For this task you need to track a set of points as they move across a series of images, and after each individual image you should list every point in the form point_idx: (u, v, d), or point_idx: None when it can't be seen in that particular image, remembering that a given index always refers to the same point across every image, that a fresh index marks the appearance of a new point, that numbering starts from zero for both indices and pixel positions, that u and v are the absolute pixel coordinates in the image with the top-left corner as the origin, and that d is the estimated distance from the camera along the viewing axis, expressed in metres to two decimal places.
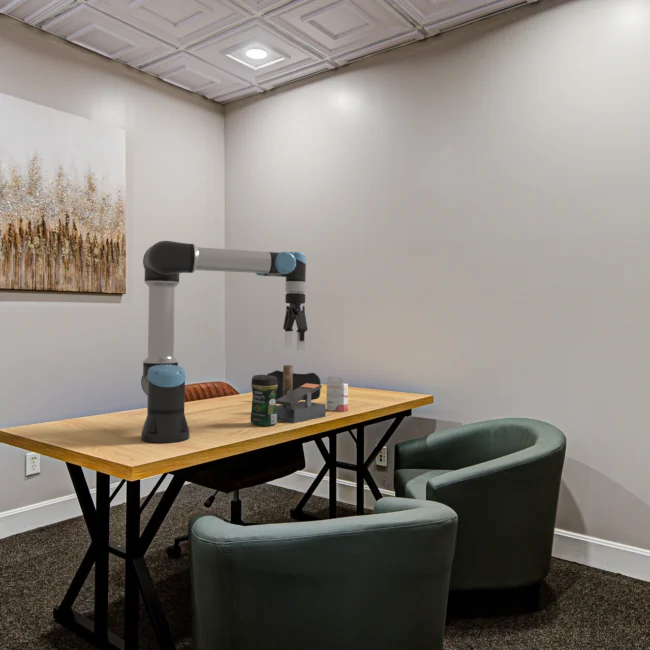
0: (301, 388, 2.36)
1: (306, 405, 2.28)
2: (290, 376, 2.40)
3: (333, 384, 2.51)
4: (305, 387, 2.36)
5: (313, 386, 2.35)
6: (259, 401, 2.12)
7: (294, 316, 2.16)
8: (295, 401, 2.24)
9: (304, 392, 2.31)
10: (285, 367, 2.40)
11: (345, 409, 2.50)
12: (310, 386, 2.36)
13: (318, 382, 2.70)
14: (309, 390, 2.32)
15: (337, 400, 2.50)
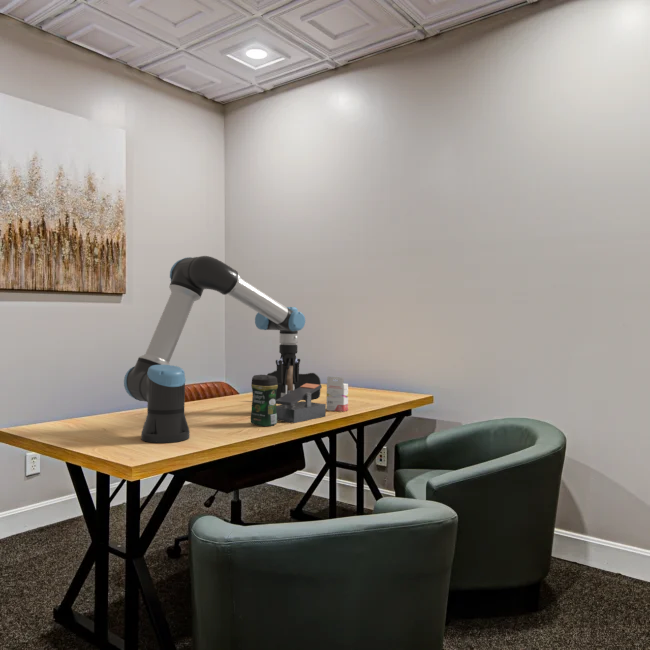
0: (301, 388, 2.36)
1: (306, 405, 2.28)
2: (290, 376, 2.40)
3: (333, 384, 2.51)
4: (305, 387, 2.36)
5: (313, 386, 2.35)
6: (259, 401, 2.12)
7: None
8: (295, 401, 2.24)
9: (304, 392, 2.31)
10: None
11: (345, 409, 2.50)
12: (310, 386, 2.36)
13: (318, 382, 2.70)
14: (309, 390, 2.32)
15: (337, 400, 2.50)
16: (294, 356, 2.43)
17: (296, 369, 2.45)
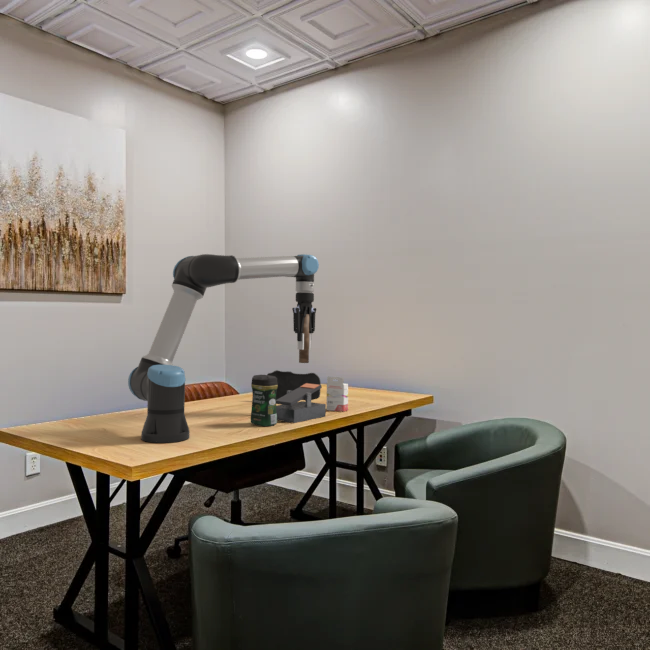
0: (301, 388, 2.36)
1: (306, 405, 2.28)
2: (307, 324, 2.38)
3: (333, 384, 2.51)
4: (305, 387, 2.36)
5: (313, 386, 2.35)
6: (259, 401, 2.12)
7: None
8: (295, 401, 2.24)
9: (304, 392, 2.31)
10: None
11: (345, 409, 2.50)
12: (310, 386, 2.36)
13: (318, 382, 2.70)
14: (309, 390, 2.32)
15: (337, 400, 2.50)
16: (310, 305, 2.41)
17: (312, 318, 2.43)
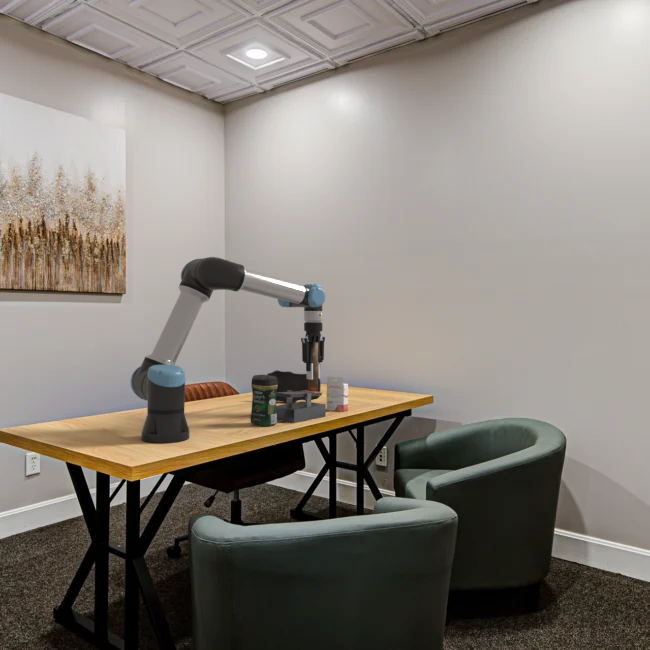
0: (301, 391, 2.36)
1: (306, 405, 2.28)
2: (316, 353, 2.37)
3: (333, 384, 2.51)
4: (306, 391, 2.36)
5: (314, 391, 2.36)
6: (259, 401, 2.12)
7: None
8: (295, 395, 2.23)
9: None
10: (310, 344, 2.37)
11: (345, 409, 2.50)
12: (311, 391, 2.36)
13: (318, 382, 2.70)
14: None
15: (337, 400, 2.50)
16: (319, 334, 2.40)
17: (321, 347, 2.42)
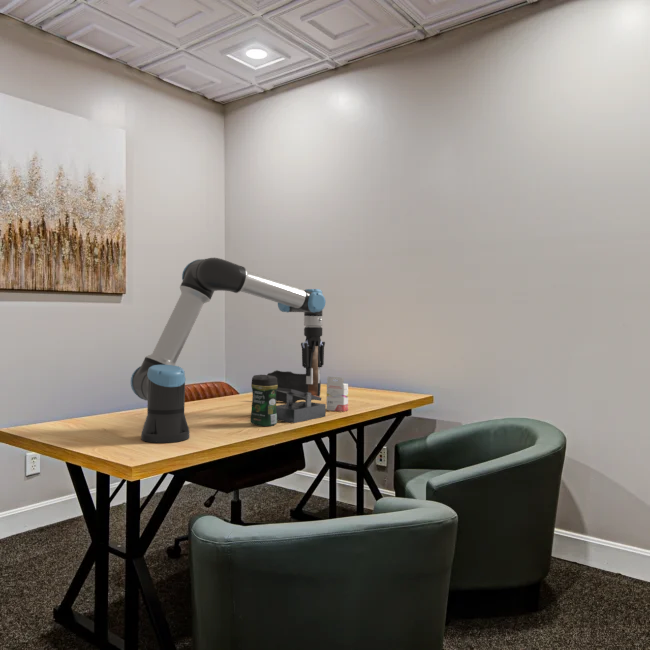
0: None
1: (306, 405, 2.28)
2: (315, 356, 2.37)
3: (333, 384, 2.51)
4: None
5: (314, 395, 2.36)
6: (259, 401, 2.12)
7: None
8: (295, 391, 2.23)
9: None
10: None
11: (345, 409, 2.50)
12: None
13: None
14: None
15: (337, 400, 2.50)
16: (319, 339, 2.40)
17: (321, 352, 2.42)
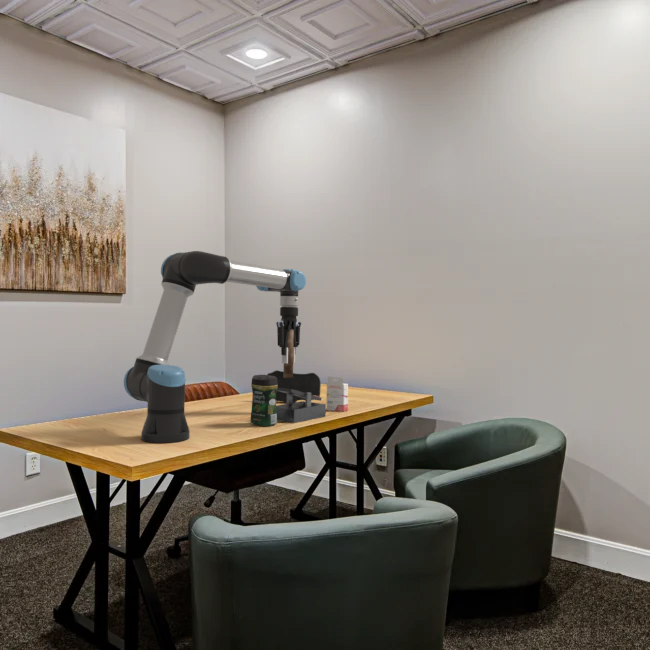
0: None
1: (306, 405, 2.28)
2: (291, 340, 2.40)
3: (333, 384, 2.51)
4: None
5: (314, 395, 2.36)
6: (259, 401, 2.12)
7: None
8: (295, 391, 2.23)
9: None
10: None
11: (345, 409, 2.50)
12: None
13: (318, 382, 2.70)
14: None
15: (337, 400, 2.50)
16: (295, 319, 2.43)
17: (297, 332, 2.45)
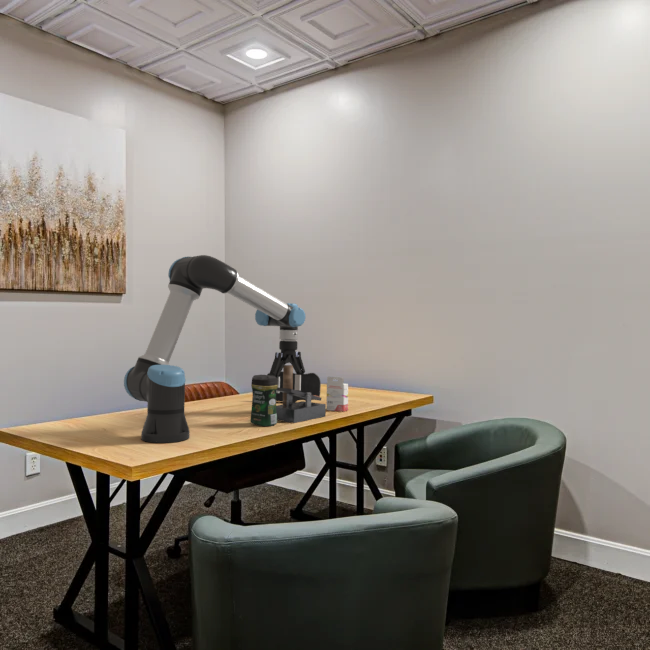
0: None
1: (306, 405, 2.28)
2: (290, 376, 2.40)
3: (333, 384, 2.51)
4: None
5: (314, 395, 2.36)
6: (259, 401, 2.12)
7: None
8: (295, 391, 2.23)
9: None
10: (285, 367, 2.40)
11: (345, 409, 2.50)
12: None
13: (318, 382, 2.70)
14: None
15: (337, 400, 2.50)
16: (294, 353, 2.43)
17: (299, 362, 2.46)
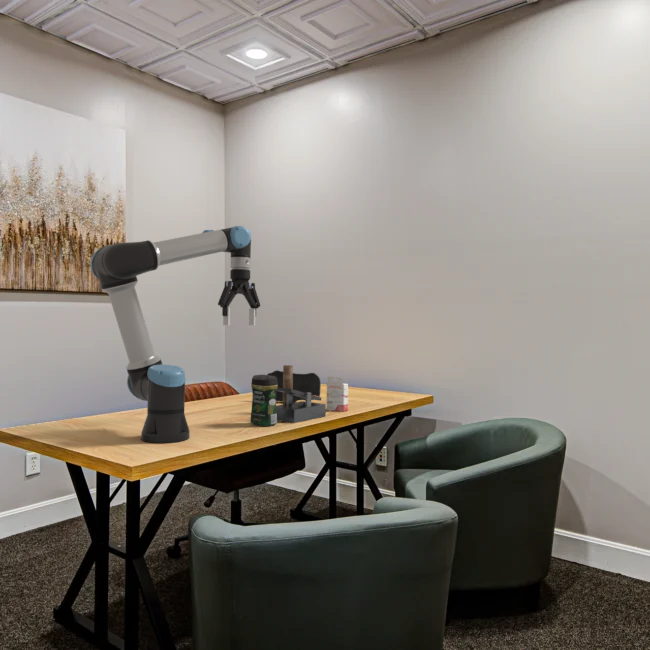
0: None
1: (306, 405, 2.28)
2: (290, 376, 2.40)
3: (333, 384, 2.51)
4: None
5: (314, 395, 2.36)
6: (259, 401, 2.12)
7: None
8: (295, 391, 2.23)
9: None
10: (285, 367, 2.40)
11: (345, 409, 2.50)
12: None
13: (318, 382, 2.70)
14: None
15: (337, 400, 2.50)
16: (246, 284, 2.21)
17: (254, 294, 2.25)
